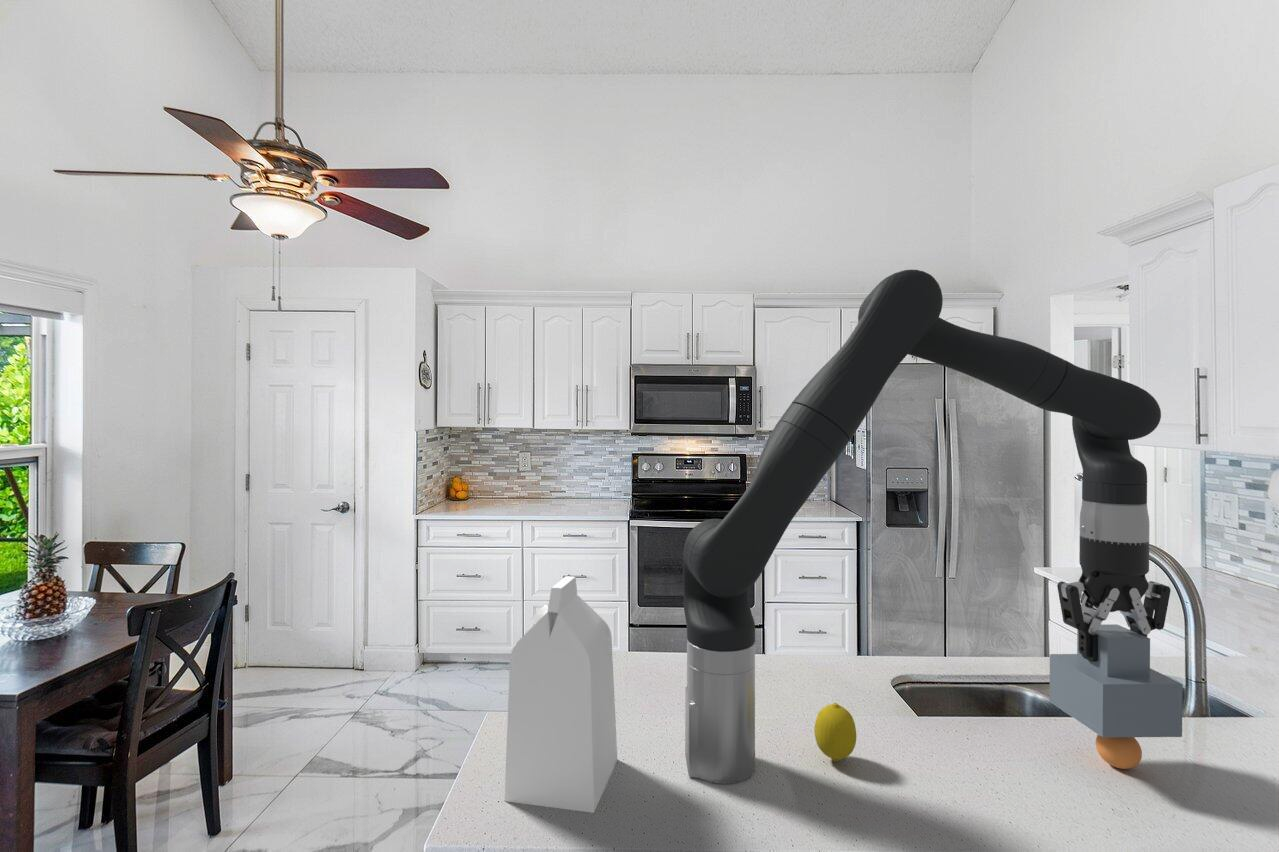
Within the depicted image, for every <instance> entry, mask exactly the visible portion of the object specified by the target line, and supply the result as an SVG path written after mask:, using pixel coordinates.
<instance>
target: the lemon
mask: <svg viewBox="0 0 1279 852" xmlns="http://www.w3.org/2000/svg"><path fill="white" fill-rule="evenodd" d="M814 738H815V741H816V744H817V747H818V748H819V750H820V751H821V752H822V754H824V756H826V757H827V758H830V759H831V760H832V761H833V762H835V763H836V762H838V761H839V760H843V759H845V758H847V757H849V756H850V755H851V754H852V753H853V752H854V749H855V747H856V744H857V728H856V722H855V720H854V718H853V716H852V714H851V713H850V712H849V711H848V710H847V709H846V708H845V707H844V706H842V705H839V703H837V702H832V703H831V704H827V705H825V706H823V707H822V708H821V709H820V710H819V711H818V713H817V715H816V719H815V723H814Z"/></svg>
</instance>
